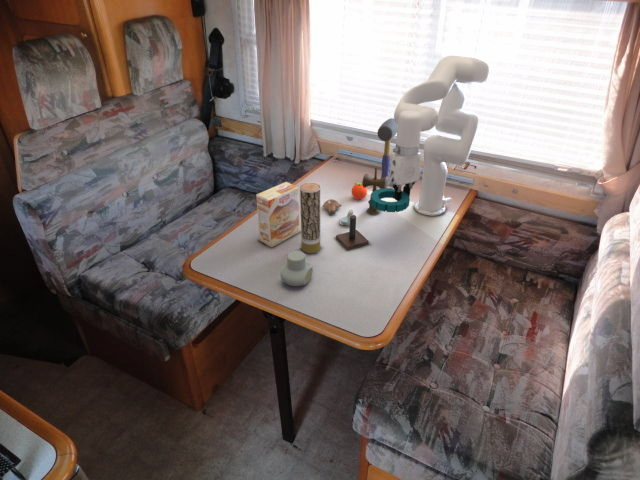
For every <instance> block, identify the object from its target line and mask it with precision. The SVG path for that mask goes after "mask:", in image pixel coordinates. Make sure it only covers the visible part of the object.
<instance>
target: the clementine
mask: <svg viewBox="0 0 640 480" xmlns="http://www.w3.org/2000/svg"><path fill="white" fill-rule="evenodd" d="M350 192H351V196H352V197H353V198H354V199H356V200H363V199H365V197H367V194H368V187H365V188H364V187H363V185H362V183H360V182H355V183H354V185H352V188H351V191H350Z"/></svg>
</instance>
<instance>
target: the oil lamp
mask: <svg viewBox="0 0 640 480" xmlns="http://www.w3.org/2000/svg"><path fill="white" fill-rule="evenodd" d="M341 207H342V204H341V203H340V202H339V201H338V200H336V199H332V198H331V199H327V200H326V201H325V202H324V203H323V204H322V208H324V209H325V210H327V211H328V215H330V216H332V215H336V210H338V209H339V208H341Z"/></svg>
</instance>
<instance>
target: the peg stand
mask: <svg viewBox="0 0 640 480" xmlns="http://www.w3.org/2000/svg"><path fill="white" fill-rule="evenodd" d="M354 215H355V214H353V215H352V216H350V225H348V226H349V227H348V230H349V231H347V232H343V233H339V234H336V235H335V239H336V241H338V242H339V243H340V245H342V246H343V248H345V249H346V251H350V250H354V249H356V248H361V247H364V246H368V245H369V242H370V241H369V240H368V239H367V238H366V237H365V236H364V235H363V234H362V233H361V232H360V231H359V230H357V219H356V217H357V215H355V216H354Z"/></svg>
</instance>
